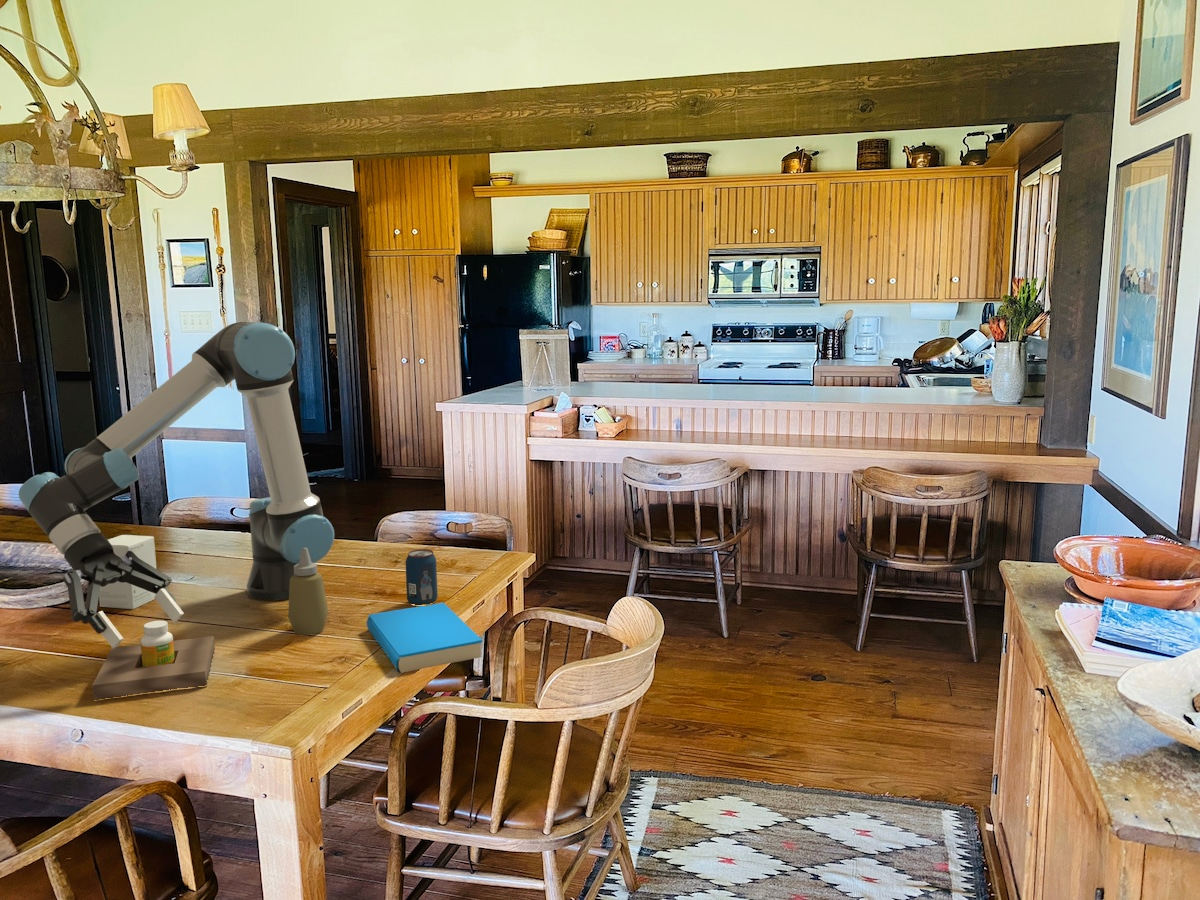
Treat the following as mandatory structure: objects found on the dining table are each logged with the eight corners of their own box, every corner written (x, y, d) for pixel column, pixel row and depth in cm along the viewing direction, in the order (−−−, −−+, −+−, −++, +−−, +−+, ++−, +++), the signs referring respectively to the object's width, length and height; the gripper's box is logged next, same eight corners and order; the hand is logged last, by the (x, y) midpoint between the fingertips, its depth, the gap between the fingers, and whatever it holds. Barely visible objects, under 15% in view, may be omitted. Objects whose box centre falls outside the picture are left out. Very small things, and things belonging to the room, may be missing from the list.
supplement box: (133, 610, 200) (127, 546, 198) (98, 607, 202) (92, 543, 200) (160, 597, 209) (155, 535, 207) (127, 594, 211) (121, 533, 208)
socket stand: (214, 650, 177) (213, 636, 176) (206, 687, 160) (205, 671, 159) (113, 662, 171) (112, 647, 170) (93, 701, 154) (92, 685, 154)
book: (443, 602, 195) (483, 638, 173) (444, 621, 195) (484, 659, 173) (364, 615, 187) (396, 654, 165) (365, 634, 187) (397, 676, 165)
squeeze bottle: (292, 640, 182) (286, 555, 179) (286, 628, 189) (281, 546, 186) (332, 633, 185) (328, 550, 182) (325, 621, 192) (320, 541, 189)
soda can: (420, 596, 209) (418, 547, 207) (443, 600, 206) (442, 550, 204) (400, 605, 203) (398, 554, 201) (424, 609, 200) (422, 558, 198)
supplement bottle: (159, 681, 162) (155, 630, 161) (136, 677, 164) (132, 627, 162) (182, 670, 167) (178, 620, 166) (159, 666, 169) (155, 617, 167)
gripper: (129, 539, 179) (192, 619, 177) (9, 575, 156) (80, 667, 154) (146, 516, 177) (211, 597, 174) (27, 549, 154) (99, 642, 151)
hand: (149, 630), depth 164 cm, fingers open, 13 cm apart
